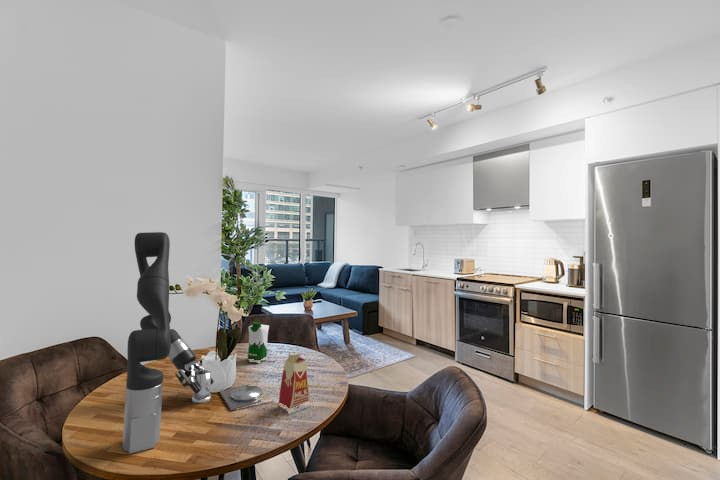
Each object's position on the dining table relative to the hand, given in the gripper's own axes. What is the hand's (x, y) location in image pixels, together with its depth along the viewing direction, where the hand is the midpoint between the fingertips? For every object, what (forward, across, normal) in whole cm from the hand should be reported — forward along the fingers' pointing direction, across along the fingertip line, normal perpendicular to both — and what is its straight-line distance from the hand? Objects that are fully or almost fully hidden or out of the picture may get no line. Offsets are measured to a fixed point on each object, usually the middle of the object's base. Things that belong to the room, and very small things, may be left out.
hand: (205, 387), depth 129 cm
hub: (+2, 0, +4) cm, 5 cm away
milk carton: (+27, +4, -21) cm, 35 cm away
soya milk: (+2, +46, +5) cm, 46 cm away
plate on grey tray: (+13, +6, -6) cm, 16 cm away
